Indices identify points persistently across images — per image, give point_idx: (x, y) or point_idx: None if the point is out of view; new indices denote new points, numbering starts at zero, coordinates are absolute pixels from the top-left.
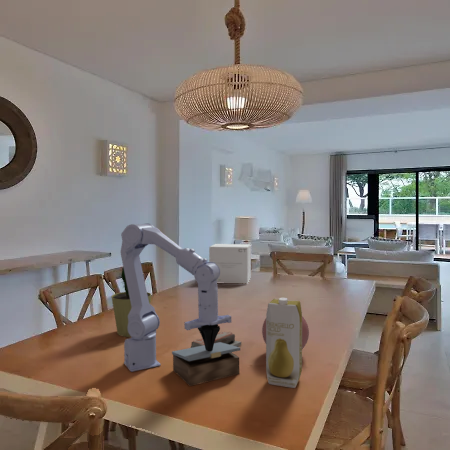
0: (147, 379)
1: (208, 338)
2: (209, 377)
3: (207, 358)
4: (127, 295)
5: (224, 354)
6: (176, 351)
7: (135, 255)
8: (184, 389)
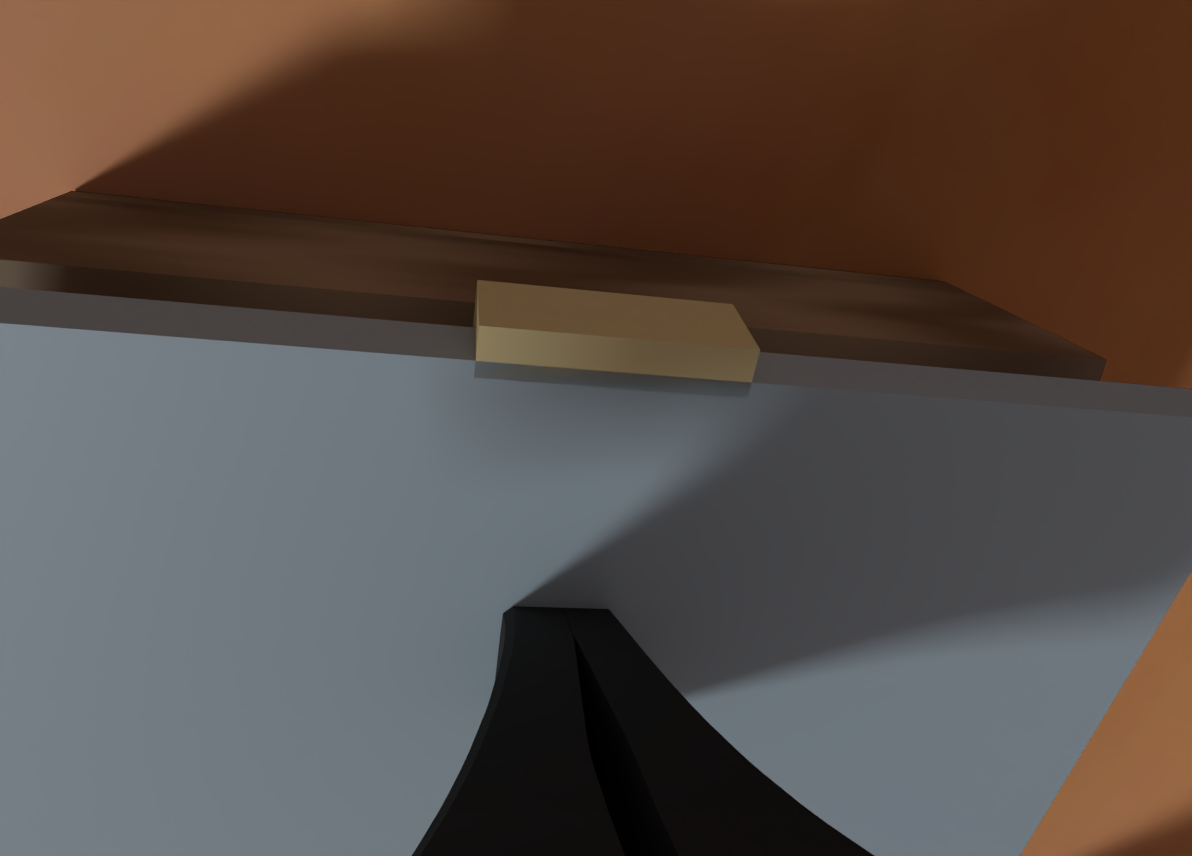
0: (1154, 698)
1: (747, 806)
2: (656, 264)
3: None
4: None
5: None
6: None
7: None
8: (1053, 236)
